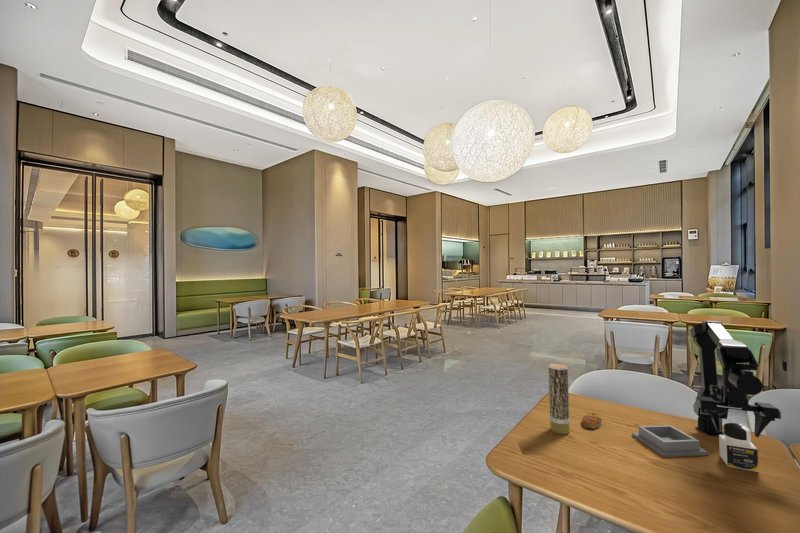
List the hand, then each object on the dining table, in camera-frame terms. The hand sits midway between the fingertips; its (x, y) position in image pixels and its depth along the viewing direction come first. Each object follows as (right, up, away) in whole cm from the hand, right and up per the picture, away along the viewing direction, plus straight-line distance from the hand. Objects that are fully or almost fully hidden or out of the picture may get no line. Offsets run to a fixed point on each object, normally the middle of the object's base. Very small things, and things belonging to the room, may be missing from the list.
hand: (736, 434), depth 109 cm
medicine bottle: (0, -10, 0) cm, 10 cm away
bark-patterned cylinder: (-45, -11, +24) cm, 52 cm away
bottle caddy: (-12, -10, +12) cm, 20 cm away
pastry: (-29, -11, +30) cm, 43 cm away
